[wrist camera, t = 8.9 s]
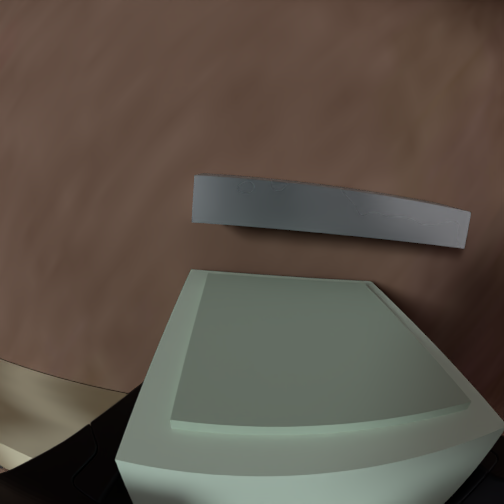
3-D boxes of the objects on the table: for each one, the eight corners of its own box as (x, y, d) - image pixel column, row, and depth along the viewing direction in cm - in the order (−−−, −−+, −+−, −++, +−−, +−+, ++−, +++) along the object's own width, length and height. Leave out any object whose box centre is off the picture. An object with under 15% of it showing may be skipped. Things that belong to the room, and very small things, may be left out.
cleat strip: (200, 212, 8) (192, 222, 7) (203, 173, 8) (195, 175, 6) (435, 236, 8) (464, 248, 7) (441, 203, 8) (471, 212, 7)
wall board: (10, 392, 10) (-32, 446, 6) (-3, 357, 9) (-54, 410, 5) (369, 436, 11) (399, 508, 7) (384, 402, 10) (424, 479, 6)
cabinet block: (191, 408, 9) (168, 569, 4) (191, 264, 8) (111, 450, 2) (335, 411, 10) (383, 555, 4) (372, 276, 8) (512, 417, 3)
